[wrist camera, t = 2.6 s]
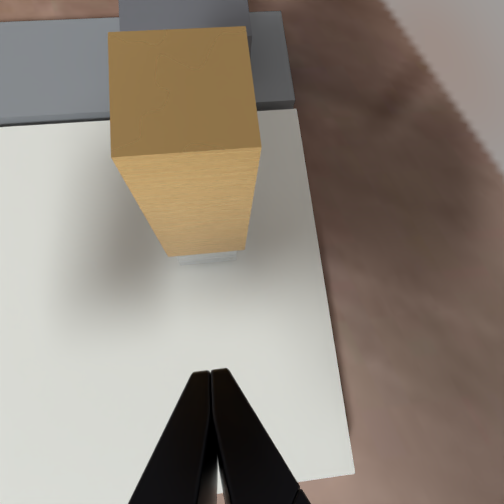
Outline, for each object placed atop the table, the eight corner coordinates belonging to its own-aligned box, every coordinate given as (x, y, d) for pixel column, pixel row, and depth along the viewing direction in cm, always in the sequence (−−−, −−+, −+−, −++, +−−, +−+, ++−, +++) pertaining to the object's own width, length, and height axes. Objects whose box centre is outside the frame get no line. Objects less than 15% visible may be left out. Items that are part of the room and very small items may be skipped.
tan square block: (243, 259, 17) (261, 146, 8) (173, 266, 17) (110, 157, 8) (227, 118, 19) (228, -107, 10) (164, 122, 19) (103, -105, 10)
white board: (344, 463, 17) (386, 502, 13) (-49, 520, 16) (-160, 585, 11) (277, 33, 23) (290, -49, 18) (-17, 46, 21) (-83, -38, 17)
